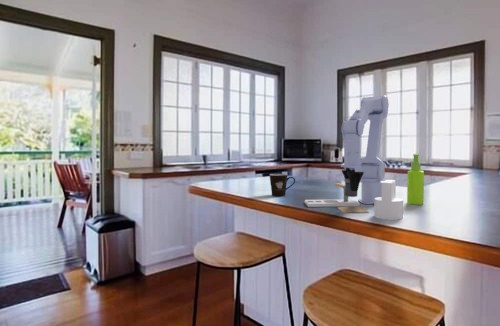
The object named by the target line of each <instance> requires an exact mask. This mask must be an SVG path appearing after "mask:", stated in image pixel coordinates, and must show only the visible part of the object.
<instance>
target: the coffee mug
mask: <svg viewBox="0 0 500 326" xmlns="http://www.w3.org/2000/svg"><path fill="white" fill-rule="evenodd" d="M290 179H293V183H292V184H290V185H289V186H288V187H287V182H288V181H289V180H290ZM269 182H270V189H271V191H270V192H271V196H273V197H285V196H286V194H287V193H286V191H287V190H288V189H289V188H291V187H293V185H295V183H296V178H294V176H289V177H288V174H287V173H270V174H269Z"/></svg>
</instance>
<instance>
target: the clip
mask: <svg viewBox="0 0 500 326" xmlns="http://www.w3.org/2000/svg"><path fill="white" fill-rule="evenodd" d="M334 185H335V186H337V187H340V188H341V189H343V190H344V189H345V184H342V183H339V182H335V183H334Z"/></svg>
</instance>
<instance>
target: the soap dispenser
mask: <svg viewBox="0 0 500 326" xmlns="http://www.w3.org/2000/svg"><path fill="white" fill-rule="evenodd" d="M419 156H420V155H419V153H413V160H412V161H411V162H410V163H411V164H410V165H411V166H410V170H407V187H406V188H407V191H406V193H407V194H406V195H407V196H406V201H407V202H406V203H407V204H409V205H414V206H415V205H416V206H417V205H418V206H419V205H420V206H421V205H422V206H423V205H424V191H425V189H424V188H425V187H424V185H425V183H424V182H425V172H424V170H422V169H421V164H422V162H420V161H419Z"/></svg>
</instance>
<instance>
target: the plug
mask: <svg viewBox="0 0 500 326" xmlns="http://www.w3.org/2000/svg"><path fill="white" fill-rule="evenodd" d="M344 182H345V183H344V185H345V196H348V198H356V197H358V191H351V187H350V180H349V179H345V178H344Z"/></svg>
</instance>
